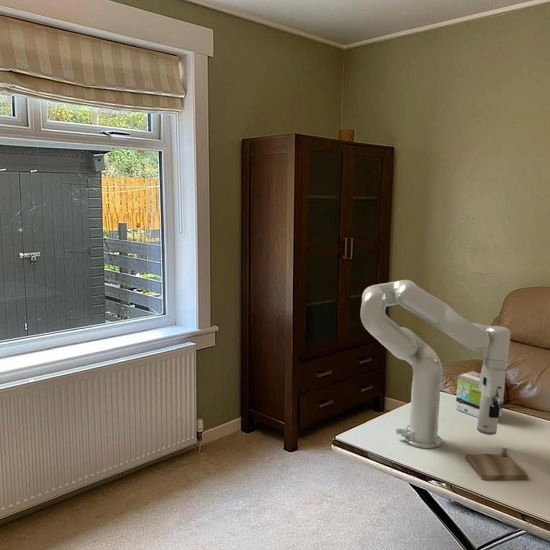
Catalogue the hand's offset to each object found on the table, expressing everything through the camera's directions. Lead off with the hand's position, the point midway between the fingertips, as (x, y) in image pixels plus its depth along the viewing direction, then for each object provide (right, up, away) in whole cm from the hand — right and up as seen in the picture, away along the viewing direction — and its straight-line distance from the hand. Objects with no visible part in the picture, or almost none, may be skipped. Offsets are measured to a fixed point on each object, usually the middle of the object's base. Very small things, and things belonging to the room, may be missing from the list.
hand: (489, 412), depth 191 cm
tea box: (+7, -8, +31) cm, 33 cm away
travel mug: (0, -7, +1) cm, 7 cm away
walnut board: (-4, -14, -14) cm, 20 cm away
